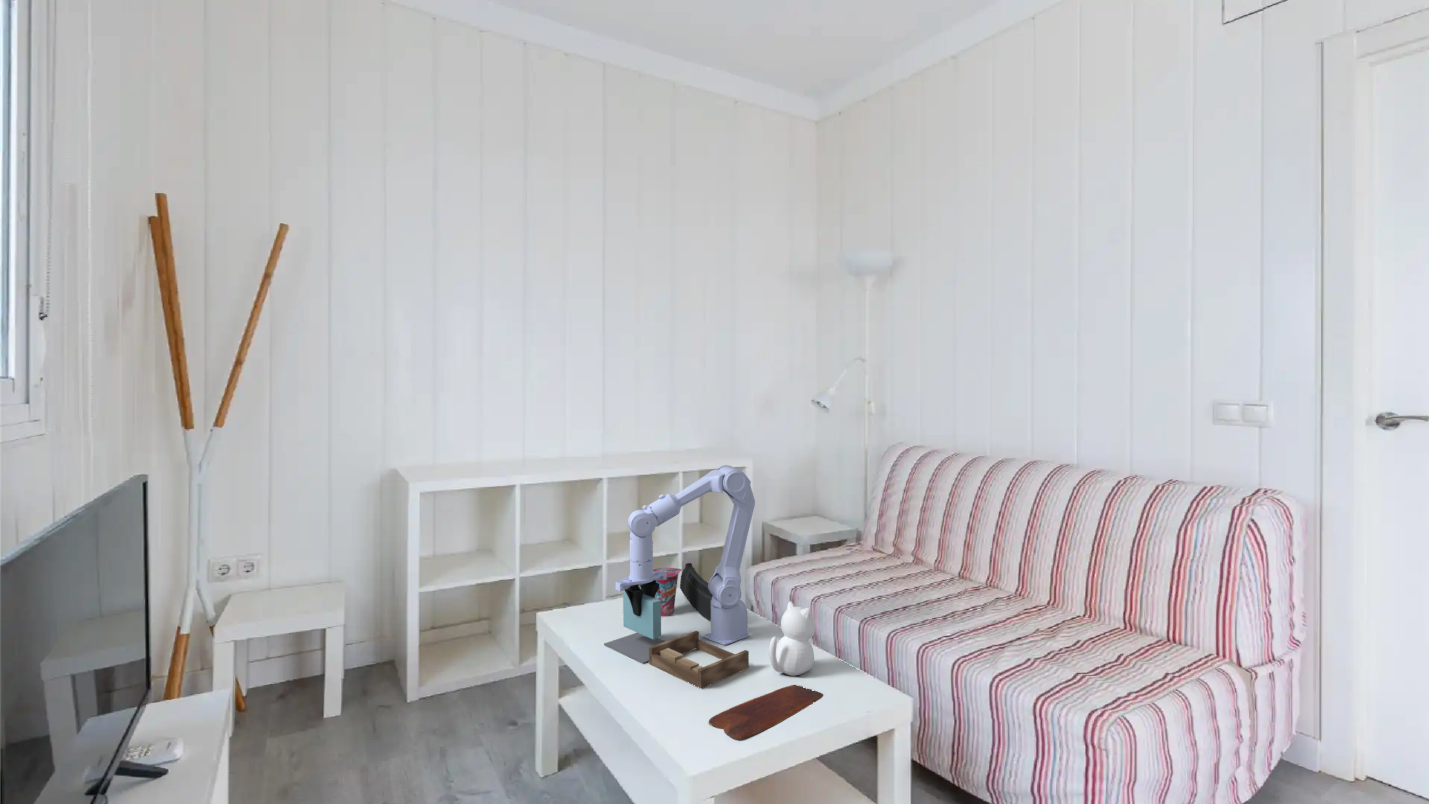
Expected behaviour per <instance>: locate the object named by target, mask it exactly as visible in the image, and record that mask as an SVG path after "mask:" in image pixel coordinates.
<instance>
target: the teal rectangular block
mask: <svg viewBox="0 0 1429 804" xmlns="http://www.w3.org/2000/svg"><path fill="white" fill-rule="evenodd" d="M622 600H623V601H622V607H623V609H622V611H623V612H622V613H623V615H622V616H623V627H624V628H626V629H628V630H631V631H633V632H635V633H639V634H642V635H644V636H646V637H649V638H651V639H656V638H659V639H660V638H661V637H662V616H661V600H659V599H656V598H653V597H650V596H647V595H645V594H643V596H642V602H641V615H640V616H637V615H634V614H633V609H632V606H631V603H630V600H629V598H628V596H627V594H626V592H625V590H623V591H622Z"/></svg>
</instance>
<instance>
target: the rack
mask: <svg viewBox="0 0 1429 804" xmlns="http://www.w3.org/2000/svg"><path fill="white" fill-rule="evenodd" d="M665 641H666V642H663V643H660V644H657V645H654V646H652V647H649V662H648V664H649V665H650V666H652V667H655V668H657V669H659V670H661V671H663V672H666V673H667V674H670V675H671V676H673V677H675V678H677V679H679V680H682V681H684V682H686V683H688V682H689V683H688V684H690V685H692V684H693V685H692V686H694V685H695V686H694V687H696V688H698V687H699V688H698V689H700V688H702V689H704V688H706V687H709V686H711V685H713V684H715V682H716V683H718V682H720V681H723V680H725V679H727V678H730V677H732V676H735V675H736V674H739V673H741V672H743V671H745V670H748V669H749V667H750V663H749V662H750V659H749V658H750V657H749V654H750V652H749V650H747V649H744V650H742V651H739V652H736V653H733V652H732V651H728V650H726V649H723V648H721V647H718V646H716V645H714V644H711V643H709V642H706V641H703V640H701V639H700V631H699V630H694V631H691V632H688V633H686V634H683V635H680V636H677V637H675V638H672V639H669V640H665ZM667 648H669V649H671V650H674V651H676V652H678V653H680V654H683V655H684V654H686V653H688V652H691V651H693V650H698V651H701V652H704V653H705V654H708V655H710V656H713V657H716V658H718V659H720V660H717V661H715V662H713V663H710V664H708V665H705V666H702V668H700V669H698V673H696V672H694V671H692V670H690V669H688V668H685V667H683V666H681V665H679V664H677V663H675V662H672V661H670V660H668V659H666V658H664V657H661V656H660V651H661V650H664V649H667ZM729 676H730V677H729ZM722 679H723V680H722ZM710 684H711V685H710ZM708 685H709V686H708Z"/></svg>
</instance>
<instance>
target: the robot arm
mask: <svg viewBox="0 0 1429 804" xmlns="http://www.w3.org/2000/svg"><path fill="white" fill-rule="evenodd" d="M751 482H752V481H751V480H750V478H749V477H748V475H746V474H745V472H744V471H742V470H740V469H736V468H734V467H733V466H731V465H727V464H724V465H722V466H719V467H718V468H717V469H713V470H711V471H709V472H708V473H706V474H705V475H704V476H702V477H701V478H699V479H698V480H696V481H695V482H693V483H691V484H690V485H689V486H687V487H684V489H682V490H681V491H680V492H678V493H676V494H670V493H667V494H665V495H664V494H663V493H662V494H660V495H659V496H658V499H656V500H655V501H653V502H651V503H650V504H648V505H646V504H644V505H643V506H642V507H641V508H642V509H637V510H634V511H632V512H631V514H630V515H629V516H628V520H627V522H626V523H627V527H628V528H629V529H630V530H629V533H630V534H629V539H630V540H629V576H627V577H624V578H623V579H621V580H618V581H615V591H617V592H624V591H625V592H626V594H627V596H628V598H629V600H630V603H631V606H632V609H633V614H634V615H637V616H640V615H641V602H642V596H643V594H645V595H647V596H650V597H653V598H654V597H655V595H656V592H657V591H658V589H659V583H656V581H657V580H661V579H662V580H665V579H667V572H666V571H663V570H660V571H654V572H653V570H654V559H653V558H654V550H653V549H654V545H653V544H654V540H653V533H654V531H655V530H656V527H660V526H661V525H662V524H665V523H666V522H668V521H669V520H671V519H673V518H674V517H676V516H678V515H679V514H680V512H681V509H682V507H684V506H686V505H687V504H689V503H692V501H695V500H697V499H698V498H700V497H702V496H704V495H706V494H708V493H720V494H724V493H725V494H726V495H727V496H728V497H729V500H730V501H731V502H732V504H733V506H732V512H731V515H730V520H729V524H728V528H727V532H726V537H725V541H724V545H723V549H722V552H721V553H722V554H721V557H720V561H719V564H718V565H717V566H716V567H715V570H714V573H713V575H712V576H711V577H710V579H709V581H708V583H709V584H708V588H709V591H710V593H711V594H712V595H713V597H712V600H711V621H710V632H708V633H707V634H704V635H703V637H704V638H705V639H708V640H710V641H713V642H715V643H718V644H720V645H723V646H727V645H729V644H732V643H734V642H737V641H739V640H742V639H745V638H748V637H750V636H751V633H749V632H748V631H749V630H748V629H749V624H748V623H749V622H748V621H749V620H748V608H747V605H746V603H745V602H744V601H743V600H741V598H742V591H741V583H742V577H741V572H740V569H741V564H742V559H743V556H744V552H745V548H746V544H747V539H748V536H749V530H750V528H751V527H750V526H751V524H752V523H751V522H752V517H753V514H754V509H755V505H756V501H755V500H756V499H755V496H754V493H753V489H752V486H751ZM723 492H724V493H723Z"/></svg>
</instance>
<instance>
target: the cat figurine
mask: <svg viewBox="0 0 1429 804" xmlns="http://www.w3.org/2000/svg"><path fill="white" fill-rule="evenodd" d="M780 628H781V630H782V633H783V634H784V636H782V637H781V638H780V639H779V641H778V639H777V636H773V637H772V638H771V639H770V643H769V649H768V650H769V652H768V653H769V654H768V655H769V659H770V663H771V666H772V669H774V671H776V672H778V673H784V674H785V675H788V676H794V677H796V676H800V675H803V674H805V673H806V672H808V671H809V670H811V669H812V668H813V666H814V665H815V652H814V651H815V650H814V647H813V645H812V643H811V642H810V639H812V637H813V636H814V634H815V633H816V622H815V619H814V617H813V615H812V612H811V608H810V607H806V608H804V607H802V606H795V604H794V603H793V602H792V601H791V600H789V601H788V604H787V607H786V610H785V612H784V613H783V614H782V617H781V620H780Z"/></svg>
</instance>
